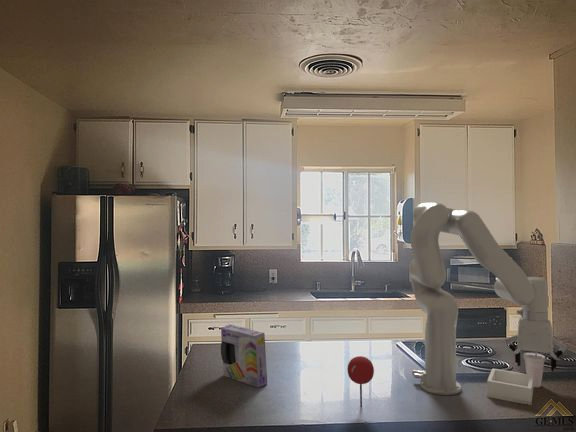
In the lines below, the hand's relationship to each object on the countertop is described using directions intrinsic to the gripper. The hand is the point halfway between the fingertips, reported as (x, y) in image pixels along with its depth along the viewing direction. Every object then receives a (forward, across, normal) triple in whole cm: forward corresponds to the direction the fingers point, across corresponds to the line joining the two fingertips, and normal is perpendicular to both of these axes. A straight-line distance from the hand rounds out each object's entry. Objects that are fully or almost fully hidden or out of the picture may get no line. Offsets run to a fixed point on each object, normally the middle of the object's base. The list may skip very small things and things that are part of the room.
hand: (535, 367), depth 148 cm
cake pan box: (+4, -86, -43) cm, 97 cm away
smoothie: (+6, 0, 0) cm, 6 cm away
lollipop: (+5, -43, -43) cm, 62 cm away
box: (+6, -6, -11) cm, 14 cm away
